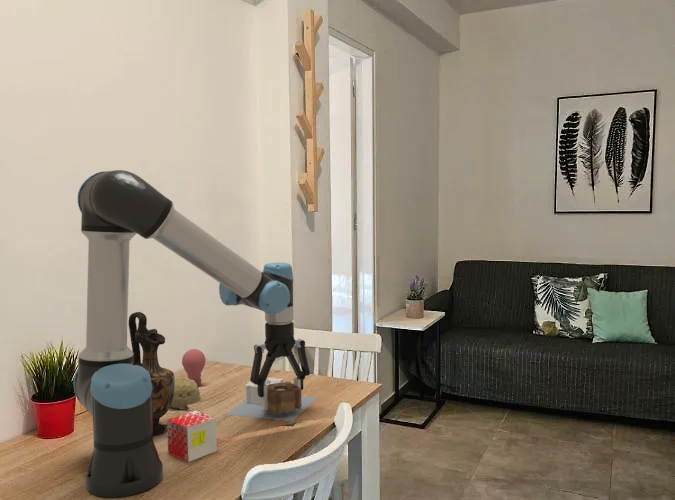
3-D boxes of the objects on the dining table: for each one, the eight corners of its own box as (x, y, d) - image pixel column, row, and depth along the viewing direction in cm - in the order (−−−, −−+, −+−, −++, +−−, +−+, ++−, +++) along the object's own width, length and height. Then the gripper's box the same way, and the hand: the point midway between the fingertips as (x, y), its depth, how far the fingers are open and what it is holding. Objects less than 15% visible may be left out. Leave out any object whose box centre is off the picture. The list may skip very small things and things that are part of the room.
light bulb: (180, 385, 194) (179, 348, 193) (203, 382, 197) (202, 345, 196) (185, 392, 188) (184, 353, 186) (208, 389, 190) (207, 350, 189)
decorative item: (201, 416, 177) (206, 383, 183) (192, 405, 169) (197, 371, 174) (169, 416, 178) (175, 383, 183) (158, 405, 170) (164, 371, 175)
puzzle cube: (188, 462, 139) (187, 427, 138) (168, 452, 144) (166, 419, 143) (217, 450, 145) (216, 417, 144) (196, 442, 150) (195, 410, 149)
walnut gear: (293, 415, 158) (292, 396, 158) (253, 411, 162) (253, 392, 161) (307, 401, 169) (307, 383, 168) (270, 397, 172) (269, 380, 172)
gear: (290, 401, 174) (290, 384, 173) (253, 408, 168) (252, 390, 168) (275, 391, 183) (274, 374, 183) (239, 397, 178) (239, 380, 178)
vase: (149, 442, 150) (145, 320, 147) (115, 432, 156) (111, 315, 153) (185, 427, 159) (182, 311, 157) (152, 418, 166) (148, 307, 163)
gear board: (292, 426, 159) (292, 398, 158) (225, 419, 164) (224, 392, 164) (316, 402, 177) (316, 377, 176) (255, 397, 183) (254, 372, 182)
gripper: (310, 315, 172) (311, 394, 174) (235, 323, 161) (237, 408, 163) (322, 319, 165) (323, 402, 167) (245, 329, 155) (247, 417, 157)
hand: (281, 405), depth 165 cm, fingers closed on walnut gear, 9 cm apart
